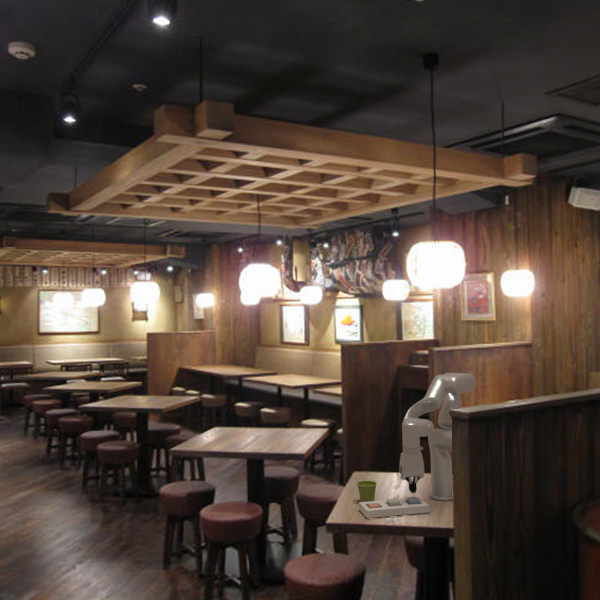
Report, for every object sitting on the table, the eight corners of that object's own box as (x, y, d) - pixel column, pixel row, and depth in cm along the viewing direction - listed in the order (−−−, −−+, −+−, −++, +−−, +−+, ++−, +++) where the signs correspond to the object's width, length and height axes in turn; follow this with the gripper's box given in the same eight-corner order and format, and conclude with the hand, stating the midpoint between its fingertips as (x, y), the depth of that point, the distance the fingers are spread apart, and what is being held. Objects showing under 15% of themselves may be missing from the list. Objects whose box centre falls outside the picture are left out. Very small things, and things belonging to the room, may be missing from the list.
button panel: (418, 504, 269) (418, 497, 269) (429, 513, 257) (429, 505, 257) (358, 510, 263) (358, 502, 263) (367, 519, 251) (367, 511, 251)
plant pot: (352, 502, 274) (352, 483, 274) (364, 497, 281) (364, 479, 281) (370, 506, 268) (369, 487, 268) (381, 501, 275) (380, 482, 275)
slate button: (416, 503, 264) (415, 496, 264) (419, 506, 260) (419, 499, 260) (406, 504, 263) (406, 497, 264) (410, 507, 259) (410, 500, 259)
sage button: (396, 505, 263) (396, 498, 263) (400, 508, 258) (400, 501, 258) (387, 506, 262) (387, 499, 262) (390, 509, 257) (390, 502, 257)
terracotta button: (377, 509, 261) (377, 502, 261) (380, 513, 256) (380, 506, 257) (367, 510, 260) (367, 503, 260) (370, 514, 256) (370, 506, 256)
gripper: (424, 447, 268) (425, 488, 267) (392, 449, 265) (393, 491, 264) (430, 450, 260) (432, 493, 260) (398, 453, 257) (399, 496, 257)
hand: (412, 491), depth 262 cm, fingers closed
